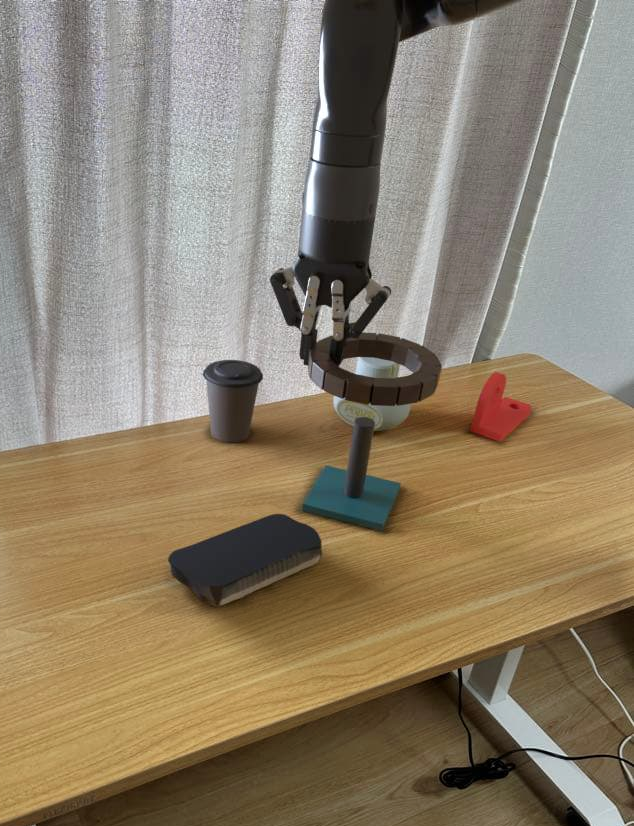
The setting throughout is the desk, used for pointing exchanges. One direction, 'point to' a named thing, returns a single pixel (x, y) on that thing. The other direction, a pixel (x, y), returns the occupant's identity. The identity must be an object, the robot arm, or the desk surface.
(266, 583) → the black board eraser
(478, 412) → the bracket
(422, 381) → the ring
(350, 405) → the air freshener
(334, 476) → the post stand
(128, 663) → the desk surface
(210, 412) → the coffee cup
